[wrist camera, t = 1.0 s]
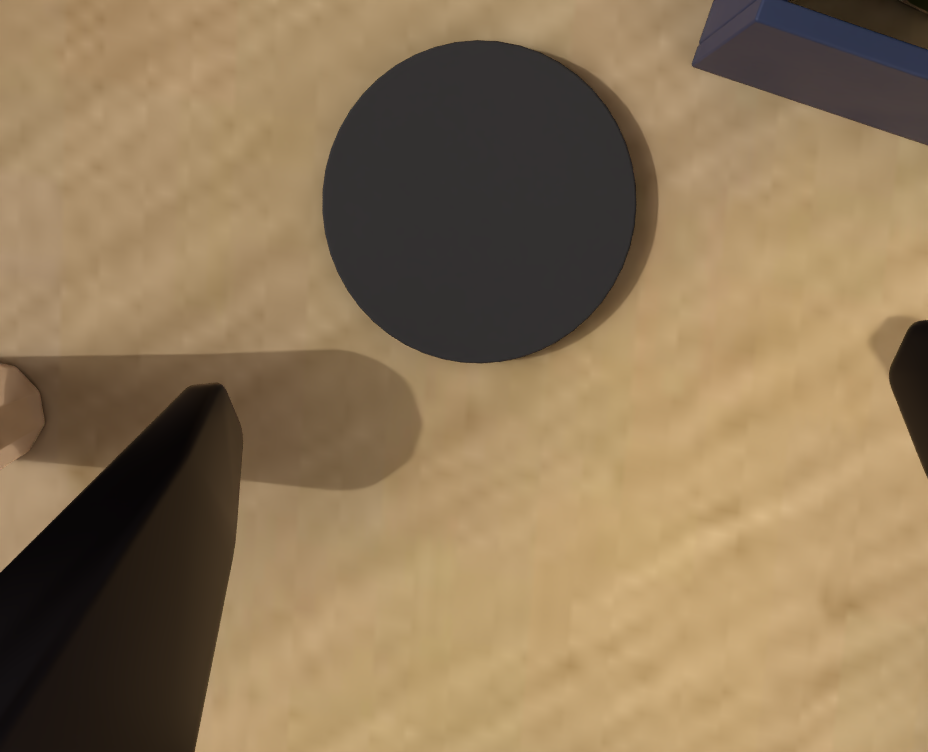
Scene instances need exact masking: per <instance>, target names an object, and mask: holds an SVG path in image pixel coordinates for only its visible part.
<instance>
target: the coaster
mask: <svg viewBox="0 0 928 752" xmlns="http://www.w3.org/2000/svg"><path fill="white" fill-rule="evenodd" d="M635 215H636V185H635V178H634V172H633V166H632V162H631V158H630V155H629V152H628V148H627V145H626V142H625V140H624V138H623V136H622V133H621V131H620V129H619V127H618V124H617V123H616V121H615V120H614V118H613V116H612V115H611V113H610V111H609V110H608V108H607V107H606V105H605V104H604V103H603V102H602V100H601V99H600V98H599V97H598V95H597V94H596V93H595V92H594V91H593V89H592V88H591V87H589V86H588V85H587V84H586V83H585V82H584V81H583V80H582V79H581V78H580V77H579V76H578V75H577V74H575V73H574V72H572V71H571V70H569V69H568V68H567V67H565V66H564V65H562V64H561V63H559V62H558V61H556V60H554V59H552V58H550V57H548V56H546V55H544V54H542V53H540V52H537V51H534V50H531V49H528V48H525V47H523V46H520V45H514V44H509V43H504V42H499V41H481V40H475V41H464V42H454V43H450V44H446V45H442V46H437V47H434V48H431V49H429V50H426V51H423V52H421V53H418V54H416V55H414V56H412V57H410V58H408V59H406V60H405V61H403V62H401V63H399V64H397V65H396V66H394V67H393V68H392V69H390V70H389V71H388V72H386V73H385V74H384V75H382V76H381V77H380V78H378V79H377V80H376V81H375V82H374V83H373V84H372V85H371V86H370V87H369V88H368V89H367V90H366V91H365V92H364V93H363V94H362V96H361V97H360V98H359V100H358V101H357V102H356V104H355V105H354V106H353V107H352V109H351V110H350V112H349V113H348V115H347V117H346V118H345V120H344V122H343V124H342V125H341V127H340V129H339V131H338V134H337V136H336V138H335V141H334V143H333V146H332V148H331V151H330V155H329V159H328V162H327V166H326V170H325V177H324V185H323V220H324V228H325V235H326V239H327V243H328V247H329V250H330V254H331V256H332V259H333V262H334V264H335V267H336V269H337V272H338V274H339V276H340V277H341V279H342V281H343V283H344V285H345V287H346V288H347V290H348V292H349V293H350V294H351V296H352V297H353V298H354V300H355V301H356V303H357V304H358V305H359V307H360V308H361V309H362V310H363V311H364V312H365V313H366V314H367V315H368V316H369V317H370V318H371V320H372V321H373V322H375V323H376V324H377V325H378V326H379V327H381V328H382V329H383V330H384V331H386V332H387V333H388V334H389V335H391V336H392V337H394V338H396V339H397V340H399V341H400V342H402V343H404V344H405V345H407V346H409V347H412V348H414V349H416V350H418V351H420V352H422V353H425V354H428V355H431V356H435V357H438V358H441V359H445V360H451V361H457V362H464V363H491V362H502V361H506V360H511V359H516V358H520V357H523V356H526V355H529V354H532V353H535V352H537V351H540V350H542V349H544V348H546V347H548V346H550V345H552V344H554V343H556V342H557V341H559V340H560V339H562V338H563V337H565V336H566V335H568V334H569V333H571V332H572V331H574V330H575V329H576V328H577V327H578V326H579V325H580V324H582V323H583V322H584V321H585V320H586V319H587V318H588V317H589V316H590V315H591V314H592V313H593V312H594V311H595V309H596V308H597V307H598V306H599V305H600V304H601V303H602V301H603V300H604V298H605V297H606V295H607V294H608V292H609V291H610V290H611V288H612V287H613V285H614V283H615V281H616V279H617V277H618V275H619V273H620V271H621V269H622V267H623V265H624V262H625V259H626V257H627V254H628V251H629V248H630V244H631V240H632V235H633V231H634V225H635Z"/></svg>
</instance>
